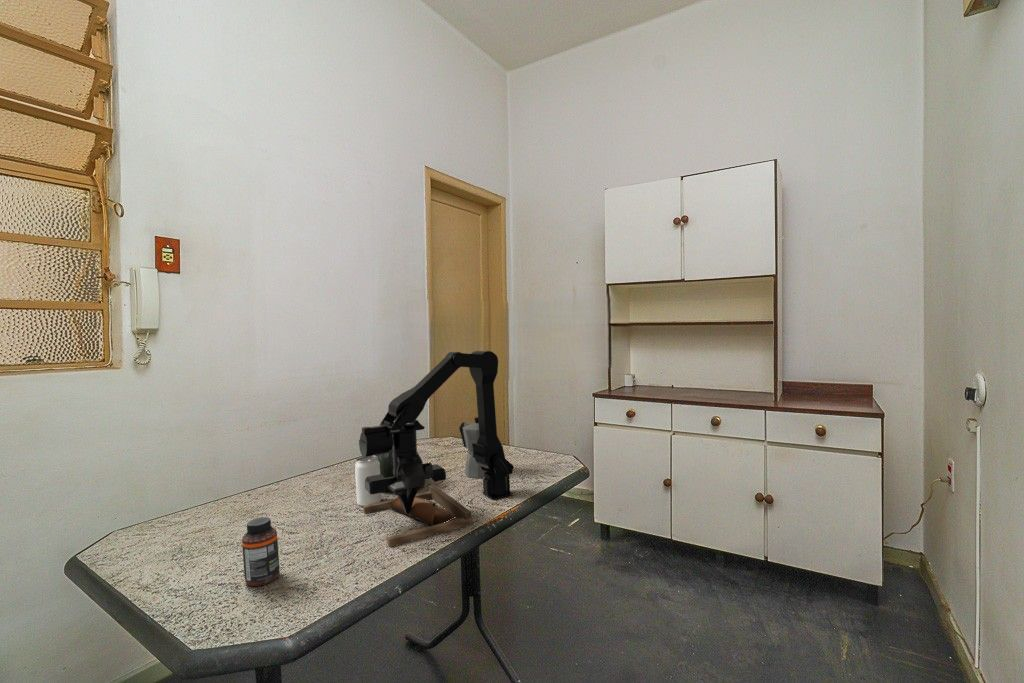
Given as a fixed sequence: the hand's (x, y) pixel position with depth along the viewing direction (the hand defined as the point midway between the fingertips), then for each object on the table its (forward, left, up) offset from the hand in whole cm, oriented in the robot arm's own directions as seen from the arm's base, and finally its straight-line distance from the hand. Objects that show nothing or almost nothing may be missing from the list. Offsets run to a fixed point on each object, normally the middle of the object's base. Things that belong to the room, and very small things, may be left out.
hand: (407, 513), depth 116 cm
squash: (-5, -26, -2) cm, 27 cm away
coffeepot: (-30, -23, -2) cm, 38 cm away
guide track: (-2, 0, -2) cm, 3 cm away
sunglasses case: (-5, -1, -2) cm, 6 cm away
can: (+5, -18, -2) cm, 19 cm away
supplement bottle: (+32, +11, -2) cm, 34 cm away
